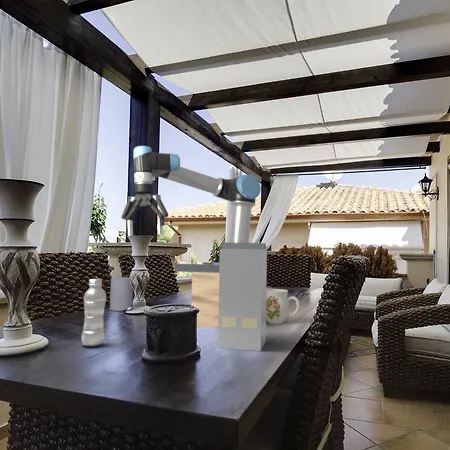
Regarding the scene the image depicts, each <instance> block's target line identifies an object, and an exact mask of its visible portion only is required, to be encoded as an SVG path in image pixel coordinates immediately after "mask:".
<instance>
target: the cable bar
mask: <svg viewBox="0 0 450 450" xmlns="http://www.w3.org/2000/svg"><path fill="white" fill-rule="evenodd" d="M219 267H220V265H212V264H206V263H205V264H203V263H175V265H174V271H175V272H176V273H177V272H180V273H192V272H208V273H219Z"/></svg>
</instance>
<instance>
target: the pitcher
mask: <svg viewBox="0 0 450 450" xmlns="http://www.w3.org/2000/svg"><path fill="white" fill-rule="evenodd" d="M288 294H289V290H288V289H283V288H282V289H280V288H271V287H269V288H268V287H266V323H268V324H273V325H274V324H275V325H281V324H284V322H285V320H286V319H290V318H293V317H295V316H297V314H298V313H299V311H300V301H299V299H298V298H297V297H296V296H288ZM291 300H294V301H295V302H296V309H295V311H294V312H293V313H292V312H291V313H290V314H289V311H290V304H289V302H290V301H291Z"/></svg>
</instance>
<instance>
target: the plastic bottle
mask: <svg viewBox="0 0 450 450" xmlns="http://www.w3.org/2000/svg"><path fill="white" fill-rule="evenodd" d="M88 286H89V288H88V289H87V290H86V291H85V293H84V295H83V305H84V307H83V308H84V323H83V330H82V332H81V343H82V345H83V346H86V347H97V346H100V345H103V343H104V341H105V336H106V335H105V329H104V314H105V307H106V301H107V294H106V291H105V290H104V289H103V287H102V286H103V280H102V279H101V278H89V279H88Z"/></svg>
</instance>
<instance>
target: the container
mask: <svg viewBox="0 0 450 450" xmlns="http://www.w3.org/2000/svg"><path fill="white" fill-rule="evenodd" d="M130 278H131V277H129V276H127V277H120V276H119V277H110V292H109V293H110V294H109V295H110V296H109V310H110V311H111V310H113V311H112V312H124V311H123V310H126V309H128V308H129V307H131V306H132V307H133V294H134V291H133V290H134V288H133V289H132V287H131V284H130Z"/></svg>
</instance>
